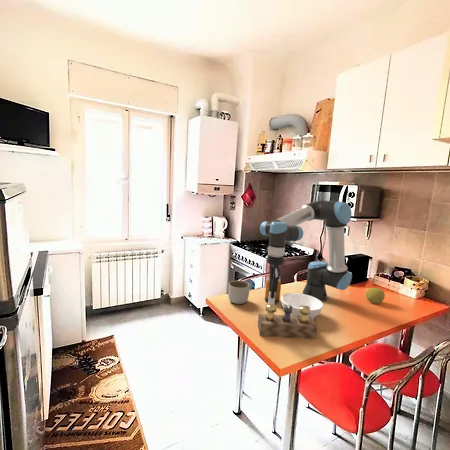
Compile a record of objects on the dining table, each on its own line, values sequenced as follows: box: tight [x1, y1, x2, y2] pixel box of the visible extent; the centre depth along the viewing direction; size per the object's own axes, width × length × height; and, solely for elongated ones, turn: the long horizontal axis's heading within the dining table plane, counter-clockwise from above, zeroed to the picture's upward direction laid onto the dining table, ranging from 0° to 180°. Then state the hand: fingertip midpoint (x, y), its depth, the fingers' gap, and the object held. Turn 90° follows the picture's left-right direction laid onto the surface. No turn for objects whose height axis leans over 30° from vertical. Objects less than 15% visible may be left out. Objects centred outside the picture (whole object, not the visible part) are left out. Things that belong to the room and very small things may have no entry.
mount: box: [257, 313, 318, 340], centre depth 130 cm, size 26×10×6 cm, turn 89°
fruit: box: [365, 287, 385, 305], centre depth 173 cm, size 10×11×10 cm
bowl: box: [280, 292, 324, 321], centre depth 149 cm, size 22×22×8 cm
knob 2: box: [299, 306, 310, 324], centre depth 129 cm, size 5×5×9 cm
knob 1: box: [265, 303, 277, 321], centre depth 129 cm, size 5×5×9 cm
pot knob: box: [283, 305, 292, 322], centre depth 129 cm, size 4×4×10 cm
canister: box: [264, 274, 282, 304], centre depth 164 cm, size 9×11×20 cm
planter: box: [227, 280, 251, 305], centre depth 162 cm, size 12×12×11 cm
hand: (271, 303), depth 128 cm, fingers closed
